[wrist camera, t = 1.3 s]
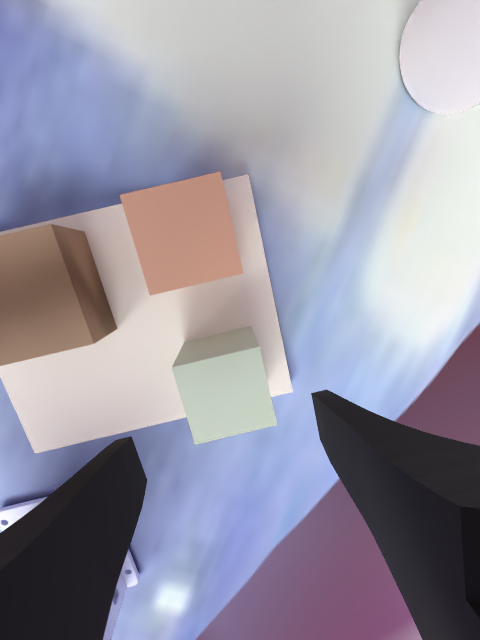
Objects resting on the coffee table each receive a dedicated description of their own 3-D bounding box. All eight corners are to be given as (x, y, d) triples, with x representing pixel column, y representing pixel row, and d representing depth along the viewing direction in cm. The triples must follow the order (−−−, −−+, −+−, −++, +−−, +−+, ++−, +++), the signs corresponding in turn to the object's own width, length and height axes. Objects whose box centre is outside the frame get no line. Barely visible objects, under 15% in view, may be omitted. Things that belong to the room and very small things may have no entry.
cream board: (289, 385, 20) (292, 391, 19) (44, 444, 20) (35, 453, 19) (246, 179, 17) (248, 174, 16) (-43, 246, 17) (-60, 245, 16)
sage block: (264, 387, 19) (277, 425, 14) (201, 402, 19) (195, 444, 14) (250, 326, 18) (259, 346, 13) (184, 341, 18) (171, 367, 13)
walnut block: (117, 329, 17) (94, 343, 14) (23, 351, 17) (-21, 371, 14) (84, 231, 16) (50, 223, 13) (-18, 254, 16) (-77, 253, 13)
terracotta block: (238, 270, 17) (243, 273, 13) (168, 287, 17) (150, 295, 13) (221, 195, 16) (220, 171, 12) (147, 213, 16) (119, 194, 12)
